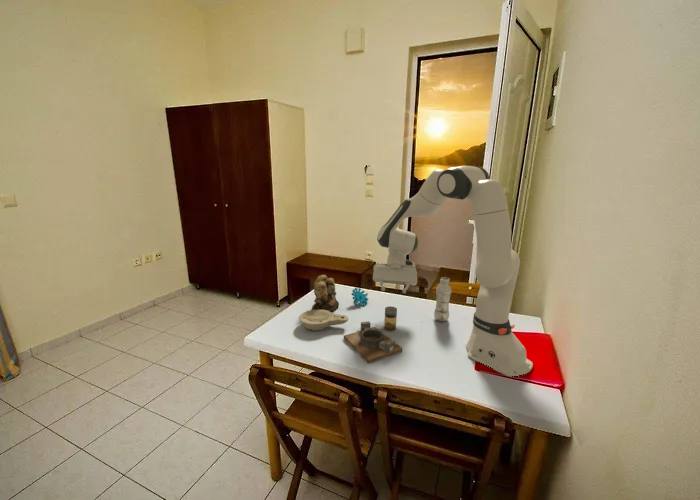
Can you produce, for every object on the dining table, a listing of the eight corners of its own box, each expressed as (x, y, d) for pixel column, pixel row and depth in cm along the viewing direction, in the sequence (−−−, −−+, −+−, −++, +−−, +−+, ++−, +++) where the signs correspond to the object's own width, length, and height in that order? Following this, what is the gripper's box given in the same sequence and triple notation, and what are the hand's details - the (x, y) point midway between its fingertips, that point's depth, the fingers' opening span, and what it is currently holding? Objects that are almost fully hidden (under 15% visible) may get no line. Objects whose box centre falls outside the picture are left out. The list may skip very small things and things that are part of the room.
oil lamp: (348, 318, 139) (349, 308, 138) (348, 335, 125) (348, 324, 124) (302, 318, 139) (302, 307, 138) (297, 334, 125) (296, 323, 124)
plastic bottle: (451, 321, 137) (456, 280, 132) (439, 324, 135) (443, 281, 130) (442, 315, 143) (446, 275, 138) (430, 317, 140) (434, 277, 135)
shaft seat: (402, 352, 114) (403, 339, 113) (369, 363, 107) (369, 351, 106) (374, 329, 130) (374, 318, 129) (343, 338, 123) (343, 326, 121)
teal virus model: (358, 306, 147) (350, 288, 151) (351, 311, 151) (343, 293, 155) (373, 302, 155) (364, 285, 159) (366, 307, 159) (358, 291, 163)
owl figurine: (329, 318, 139) (328, 283, 135) (305, 314, 143) (304, 279, 139) (343, 302, 156) (343, 270, 151) (322, 299, 159) (321, 268, 155)
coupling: (398, 329, 130) (399, 310, 128) (388, 332, 128) (389, 312, 125) (391, 324, 134) (392, 305, 132) (381, 327, 132) (382, 307, 130)
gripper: (373, 259, 143) (369, 286, 136) (418, 263, 139) (416, 291, 132) (374, 265, 148) (371, 292, 142) (417, 269, 144) (416, 296, 138)
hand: (393, 291), depth 137 cm, fingers open, 8 cm apart
